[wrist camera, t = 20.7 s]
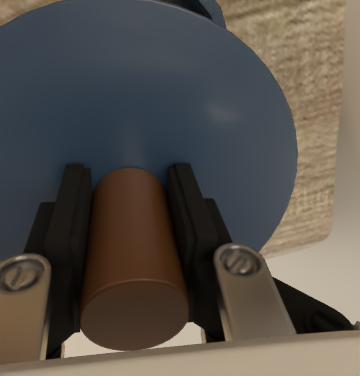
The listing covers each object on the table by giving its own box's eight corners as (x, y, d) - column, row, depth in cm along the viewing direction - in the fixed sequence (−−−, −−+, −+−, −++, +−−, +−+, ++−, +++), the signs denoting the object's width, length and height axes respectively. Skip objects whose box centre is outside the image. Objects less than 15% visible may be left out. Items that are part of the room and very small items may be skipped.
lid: (-74, 265, 13) (-192, 444, 8) (-34, -106, 8) (-314, -263, 3) (200, 311, 18) (234, 445, 13) (350, 92, 12) (517, 174, 7)
